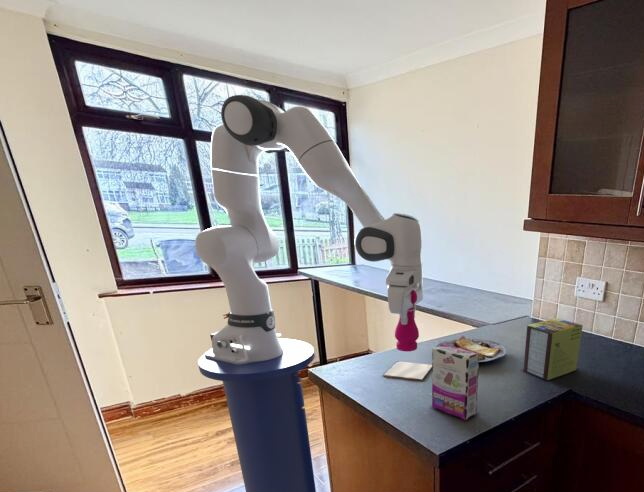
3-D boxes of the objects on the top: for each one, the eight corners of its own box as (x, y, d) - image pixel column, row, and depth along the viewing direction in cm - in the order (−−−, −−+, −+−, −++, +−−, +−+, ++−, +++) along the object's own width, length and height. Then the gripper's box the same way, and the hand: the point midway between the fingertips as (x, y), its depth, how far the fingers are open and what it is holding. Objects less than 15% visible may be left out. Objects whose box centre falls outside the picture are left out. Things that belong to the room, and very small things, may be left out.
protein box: (577, 370, 134) (583, 324, 128) (547, 381, 124) (552, 332, 118) (552, 360, 141) (557, 317, 135) (522, 370, 131) (526, 324, 125)
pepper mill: (405, 342, 129) (405, 279, 121) (423, 347, 125) (424, 283, 118) (389, 348, 123) (388, 282, 115) (408, 354, 120) (408, 286, 112)
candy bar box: (477, 413, 103) (480, 353, 97) (465, 421, 99) (468, 358, 93) (443, 401, 109) (444, 343, 102) (431, 407, 105) (431, 347, 99)
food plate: (421, 353, 142) (421, 343, 141) (467, 339, 159) (467, 331, 157) (473, 373, 127) (473, 363, 126) (518, 356, 143) (519, 347, 142)
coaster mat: (383, 376, 122) (383, 374, 122) (397, 362, 133) (397, 361, 133) (422, 380, 120) (422, 379, 120) (433, 366, 131) (433, 364, 131)
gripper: (408, 268, 125) (409, 312, 131) (382, 279, 107) (385, 329, 112) (428, 270, 125) (428, 314, 130) (405, 281, 106) (406, 331, 111)
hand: (408, 321), depth 121 cm, fingers closed on pepper mill, 4 cm apart
